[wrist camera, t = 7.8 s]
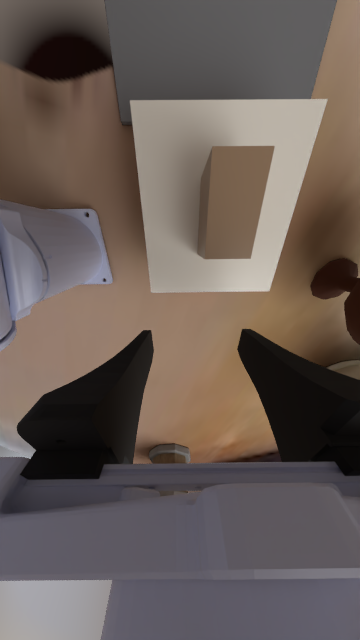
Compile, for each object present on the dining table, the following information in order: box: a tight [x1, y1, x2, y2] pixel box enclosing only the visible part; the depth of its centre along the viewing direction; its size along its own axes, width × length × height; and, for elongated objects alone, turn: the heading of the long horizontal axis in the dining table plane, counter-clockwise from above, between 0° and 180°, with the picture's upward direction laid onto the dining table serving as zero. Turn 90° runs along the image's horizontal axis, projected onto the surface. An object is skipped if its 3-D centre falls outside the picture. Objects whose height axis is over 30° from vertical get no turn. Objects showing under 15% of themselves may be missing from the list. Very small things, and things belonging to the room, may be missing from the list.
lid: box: [130, 99, 328, 293], centre depth 10 cm, size 12×12×5 cm
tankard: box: [149, 444, 191, 496], centre depth 42 cm, size 20×13×15 cm, turn 8°
